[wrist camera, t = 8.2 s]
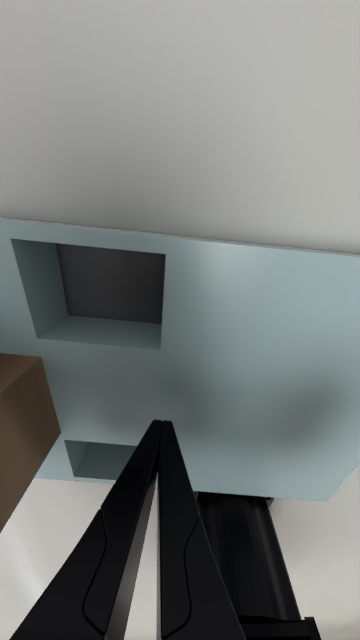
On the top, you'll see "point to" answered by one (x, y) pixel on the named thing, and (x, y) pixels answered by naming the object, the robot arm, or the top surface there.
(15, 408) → the walnut block
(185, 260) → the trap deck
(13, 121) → the top surface
